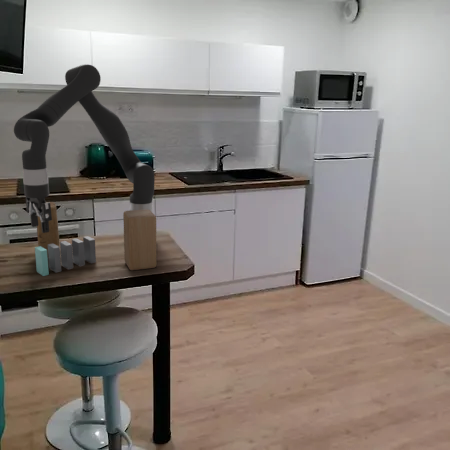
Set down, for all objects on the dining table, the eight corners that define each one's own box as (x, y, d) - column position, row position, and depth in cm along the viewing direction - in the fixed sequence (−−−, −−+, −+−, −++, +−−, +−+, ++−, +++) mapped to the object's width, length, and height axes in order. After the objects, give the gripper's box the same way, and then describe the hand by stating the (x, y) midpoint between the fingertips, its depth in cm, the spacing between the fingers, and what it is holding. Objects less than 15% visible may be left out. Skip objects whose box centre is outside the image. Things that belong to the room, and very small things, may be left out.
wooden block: (124, 261, 169) (122, 210, 163) (150, 258, 173) (149, 208, 167) (129, 271, 160) (128, 217, 154) (157, 268, 164) (156, 215, 158)
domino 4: (78, 261, 168) (76, 238, 165) (84, 265, 164) (83, 241, 162) (73, 262, 166) (71, 239, 164) (79, 266, 163) (78, 242, 160)
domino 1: (42, 270, 158) (40, 246, 156) (48, 274, 155) (46, 250, 152) (36, 271, 157) (34, 247, 154) (43, 276, 153) (41, 251, 151)
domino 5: (89, 258, 171) (88, 235, 168) (96, 262, 167) (95, 239, 165) (84, 259, 169) (83, 236, 167) (91, 263, 166) (90, 240, 163)
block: (60, 258, 170) (56, 206, 164) (38, 259, 167) (34, 207, 162) (60, 248, 179) (57, 199, 174) (40, 249, 177) (36, 200, 171)
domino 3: (66, 264, 164) (65, 240, 162) (73, 268, 161) (71, 244, 158) (61, 265, 163) (59, 241, 160) (68, 269, 160) (66, 245, 157)
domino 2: (54, 267, 161) (53, 243, 159) (61, 271, 158) (59, 247, 155) (49, 268, 160) (47, 244, 157) (55, 272, 157) (54, 248, 154)
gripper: (57, 184, 144) (60, 232, 149) (38, 177, 154) (42, 222, 159) (33, 187, 139) (38, 236, 144) (15, 179, 149) (20, 226, 154)
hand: (40, 229), depth 151 cm, fingers open, 8 cm apart
